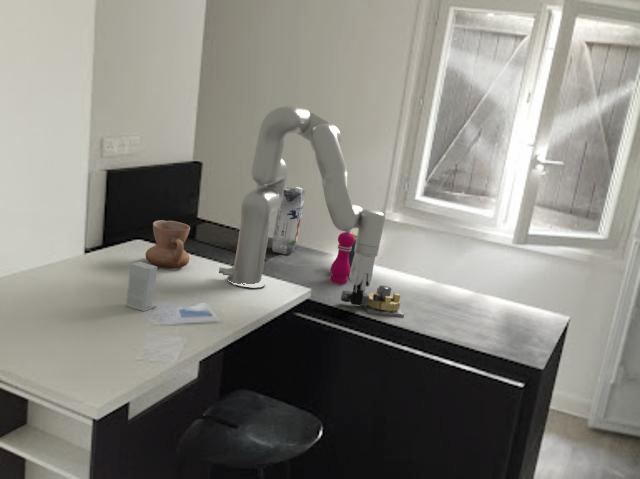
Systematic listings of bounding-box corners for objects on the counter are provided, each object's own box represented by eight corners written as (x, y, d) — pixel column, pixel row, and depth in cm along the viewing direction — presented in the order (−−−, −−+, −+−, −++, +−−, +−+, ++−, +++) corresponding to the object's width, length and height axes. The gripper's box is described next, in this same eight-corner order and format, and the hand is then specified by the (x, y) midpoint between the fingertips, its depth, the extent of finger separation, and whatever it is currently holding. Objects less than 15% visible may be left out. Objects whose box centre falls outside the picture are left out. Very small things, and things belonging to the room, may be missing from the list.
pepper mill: (346, 286, 247) (356, 232, 243) (326, 281, 249) (336, 227, 245) (349, 281, 254) (359, 229, 250) (330, 277, 256) (340, 224, 252)
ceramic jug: (137, 257, 236) (142, 217, 232) (178, 257, 243) (183, 219, 240) (154, 274, 221) (159, 232, 218) (196, 274, 229) (202, 233, 226)
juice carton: (269, 251, 277) (280, 185, 272) (275, 246, 287) (286, 183, 282) (291, 256, 276) (302, 190, 270) (296, 251, 286) (307, 187, 281)
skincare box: (152, 308, 190) (158, 266, 187) (144, 311, 186) (149, 269, 183) (133, 302, 192) (139, 261, 189) (124, 306, 188) (130, 263, 185)
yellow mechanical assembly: (344, 305, 219) (346, 292, 218) (337, 294, 230) (339, 282, 229) (402, 312, 223) (404, 299, 222) (392, 301, 234) (395, 289, 233)
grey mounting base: (367, 313, 221) (372, 290, 219) (359, 301, 232) (363, 279, 231) (403, 317, 223) (408, 295, 222) (393, 305, 235) (397, 284, 233)
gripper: (350, 241, 224) (339, 295, 228) (360, 253, 210) (349, 310, 213) (372, 244, 225) (361, 298, 229) (384, 256, 211) (372, 313, 215)
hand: (355, 304), depth 221 cm, fingers closed
